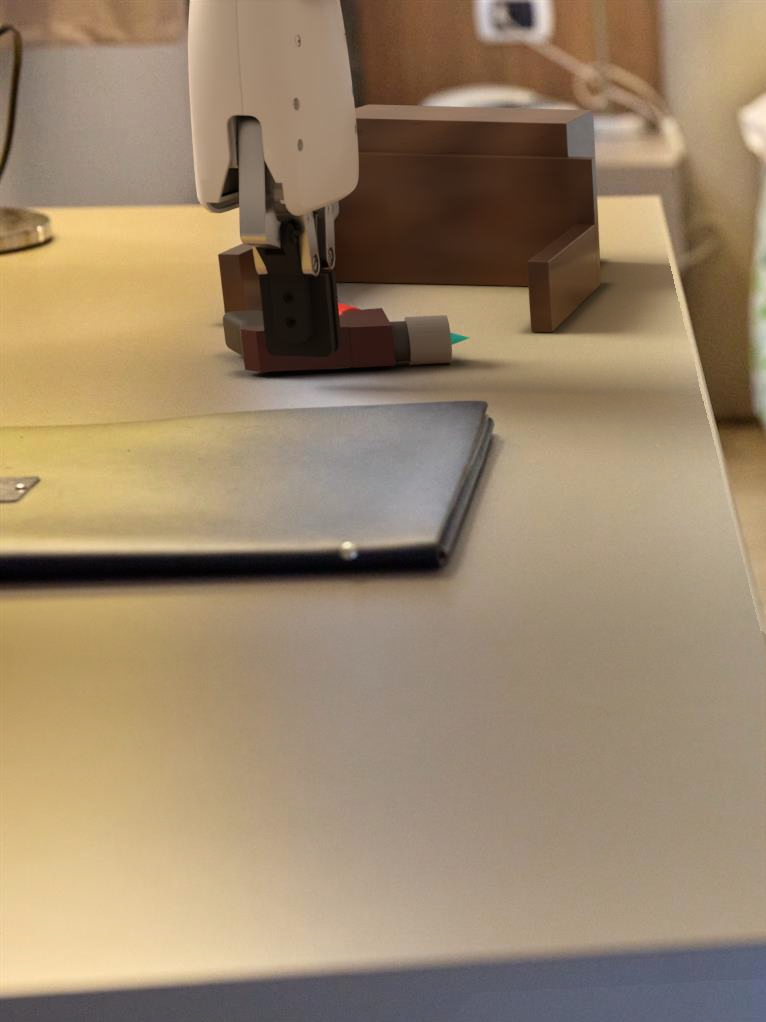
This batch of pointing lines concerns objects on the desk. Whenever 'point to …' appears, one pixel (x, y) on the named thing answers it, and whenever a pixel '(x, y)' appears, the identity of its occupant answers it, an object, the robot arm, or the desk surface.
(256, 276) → the brown u-shaped frame
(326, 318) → the robot arm
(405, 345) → the toy gun
